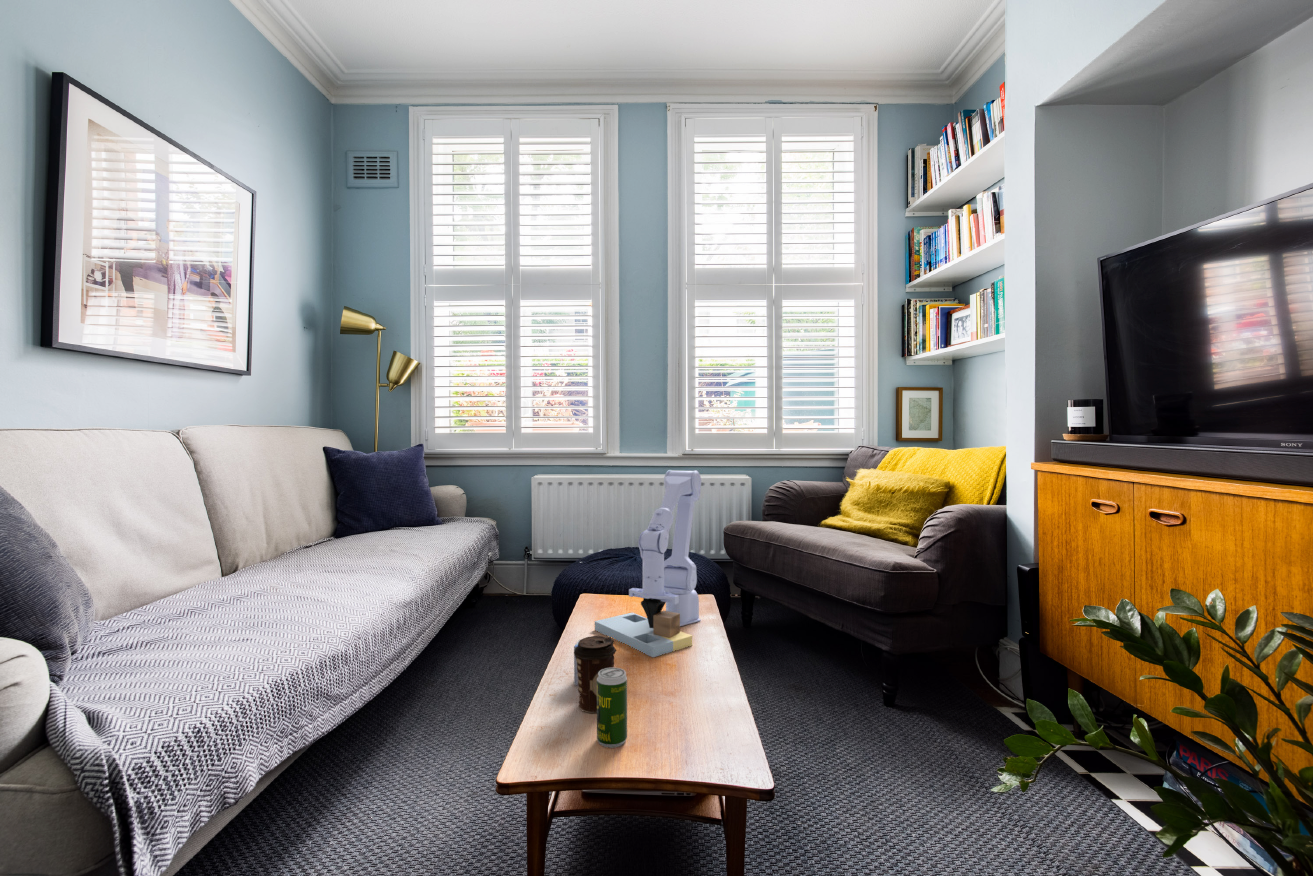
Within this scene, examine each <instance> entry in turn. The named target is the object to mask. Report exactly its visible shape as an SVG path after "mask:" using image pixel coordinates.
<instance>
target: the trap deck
mask: <svg viewBox="0 0 1313 876" xmlns="http://www.w3.org/2000/svg"><path fill="white" fill-rule="evenodd" d="M595 630H596V632H597V631H598V632H597V633H600V634H602V635H604V636H606V635H607V636H606V637H608V636H609V637H608V638H610V637H612V638H614V639H613V640H615V639H616V640H615V641H617V640H618V641H617V642H619V641H620V642H619V643H621V642H622V643H621V644H623V643H625V644H627V645H629V646H631V647H630V648H632V647H633V648H632V649H634V648H635V649H634V650H636V649H637V650H636V651H638V650H639V651H638V652H640V651H641V652H640V653H642V652H643V653H642V654H644V653H645V655H647V656H648V657H651V658H655V657H659V656H661V655H662V654H663V655H665V653H666V654H669V653H672V651H673V652H676V651H679V650H682V649H685V647H686V648H688V646H689V647H692V646H693V635H692V634H689V633H686V632H683V631H682V630H680V633H678V634H676V635H675V636H673V637H671V638H667V637H663V636H658V635H654V634H653V628H650V627H649V623H648V619H647V617H644V616H642V615H640V614H637V613H635V612H629V613H624V614H620V615H615V616H611V617H608V618H602V619H599V620H595V621H594V631H595ZM612 638H611V639H612ZM625 644H624V645H625ZM627 645H626V646H627ZM629 646H628V647H629ZM675 650H676V651H675Z"/></svg>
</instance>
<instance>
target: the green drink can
mask: <svg viewBox="0 0 1313 876" xmlns="http://www.w3.org/2000/svg"><path fill="white" fill-rule="evenodd" d="M626 672H627V671H626V670H625V669H623V668H621V667H614V668H605V669H602V670H600V671H599V672H598V677H597V712H596V739H597V742H598V744H599V745H600V746H601V745H602V746H601V747H603V746H604V748H606V747H609V748H608V749H614V747H615V748H619V747H621V746H623V745H624V744H625V743H626V740H627V739H628V677H627V673H626Z"/></svg>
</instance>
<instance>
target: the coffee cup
mask: <svg viewBox="0 0 1313 876" xmlns="http://www.w3.org/2000/svg"><path fill="white" fill-rule="evenodd" d="M579 640H580V641H579V642H578V641H577V642H578V646H577V647H576V648H575V650H574V649H573V656H574V655H575V657H576V660H577V672H578V685H577V686H578V689H577V690H578V693H579V701H578V707H579V709H580V710H581V711H582V710H583V711H582V712H584V711H585V712H584V713H588V714H589V713H590V714H591V713H593V714H594V713H596V714H597V677H598V672H599V671H600V670H602V669H605V668H615V654H616V652H617V649H616V648H615V646H614V643H615V639H612V638H610V637H608V636H605V635H604V636H602V635H593V636H587V637H583V638H581V639H579Z"/></svg>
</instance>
